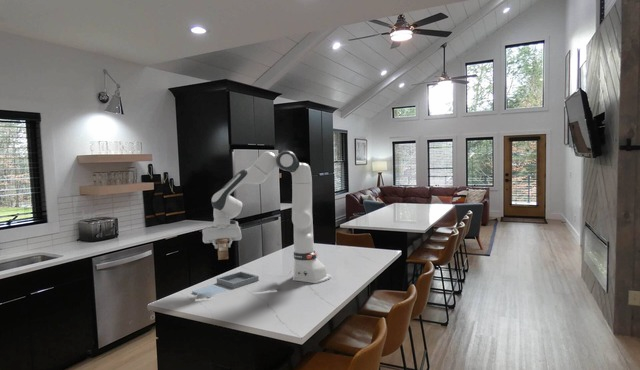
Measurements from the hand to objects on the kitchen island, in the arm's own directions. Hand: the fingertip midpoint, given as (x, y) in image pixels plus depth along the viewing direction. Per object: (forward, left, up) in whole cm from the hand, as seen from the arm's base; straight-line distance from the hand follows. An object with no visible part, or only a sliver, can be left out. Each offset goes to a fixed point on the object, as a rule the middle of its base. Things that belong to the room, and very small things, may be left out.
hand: (222, 247), depth 201 cm
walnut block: (+1, 0, -6) cm, 6 cm away
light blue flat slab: (0, +9, -22) cm, 23 cm away
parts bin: (0, -8, -22) cm, 23 cm away
